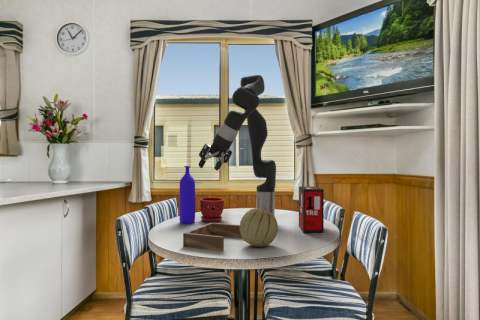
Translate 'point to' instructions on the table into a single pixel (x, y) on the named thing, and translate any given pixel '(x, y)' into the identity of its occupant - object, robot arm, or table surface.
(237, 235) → the wooden serving tray
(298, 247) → the table surface
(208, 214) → the plant pot
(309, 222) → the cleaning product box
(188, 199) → the bottle
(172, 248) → the table surface
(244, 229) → the cantaloupe
